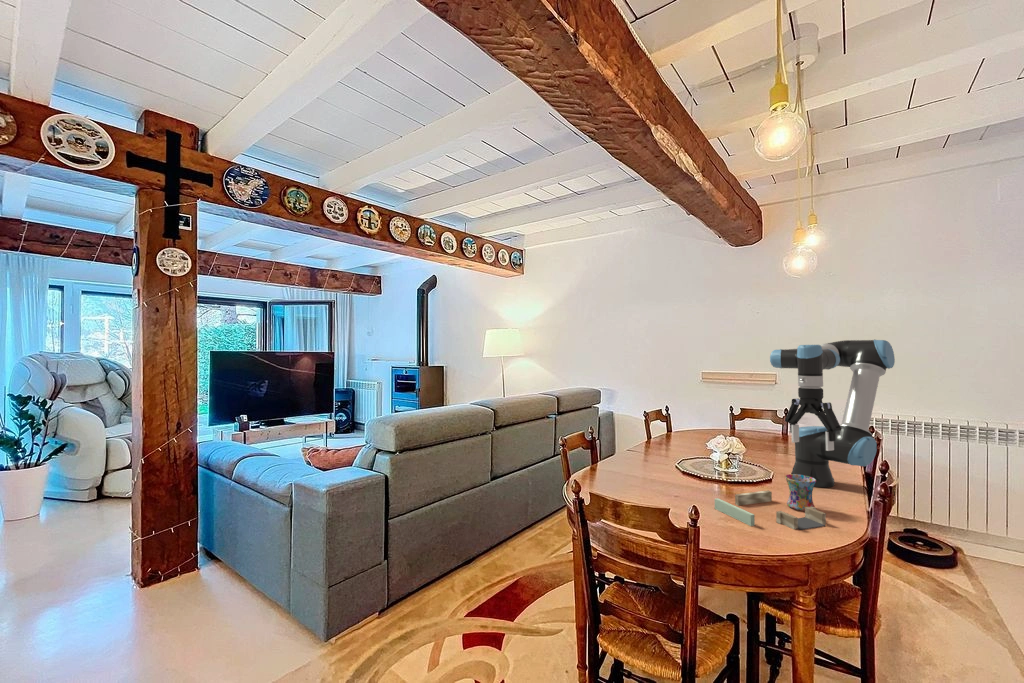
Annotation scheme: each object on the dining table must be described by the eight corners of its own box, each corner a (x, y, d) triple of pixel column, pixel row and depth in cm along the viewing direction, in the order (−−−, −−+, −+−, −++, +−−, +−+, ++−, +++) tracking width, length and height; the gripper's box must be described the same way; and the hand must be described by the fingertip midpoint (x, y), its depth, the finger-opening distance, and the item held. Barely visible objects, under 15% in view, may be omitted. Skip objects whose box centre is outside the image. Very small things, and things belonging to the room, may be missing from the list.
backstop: (718, 508, 156) (718, 498, 156) (754, 525, 141) (754, 514, 141) (714, 508, 156) (714, 498, 156) (750, 526, 140) (750, 515, 140)
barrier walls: (768, 499, 164) (768, 490, 164) (829, 523, 142) (829, 512, 142) (735, 504, 160) (735, 494, 160) (792, 529, 137) (792, 518, 137)
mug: (812, 515, 149) (812, 483, 149) (781, 508, 156) (781, 477, 156) (822, 506, 157) (821, 476, 157) (792, 499, 164) (791, 471, 164)
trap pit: (805, 518, 146) (805, 517, 146) (825, 526, 140) (825, 525, 140) (781, 521, 144) (781, 520, 144) (800, 530, 137) (800, 529, 137)
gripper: (773, 384, 171) (774, 439, 170) (835, 391, 146) (837, 455, 146) (789, 384, 172) (790, 438, 172) (853, 390, 148) (854, 453, 148)
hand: (812, 446), depth 159 cm, fingers open, 13 cm apart
